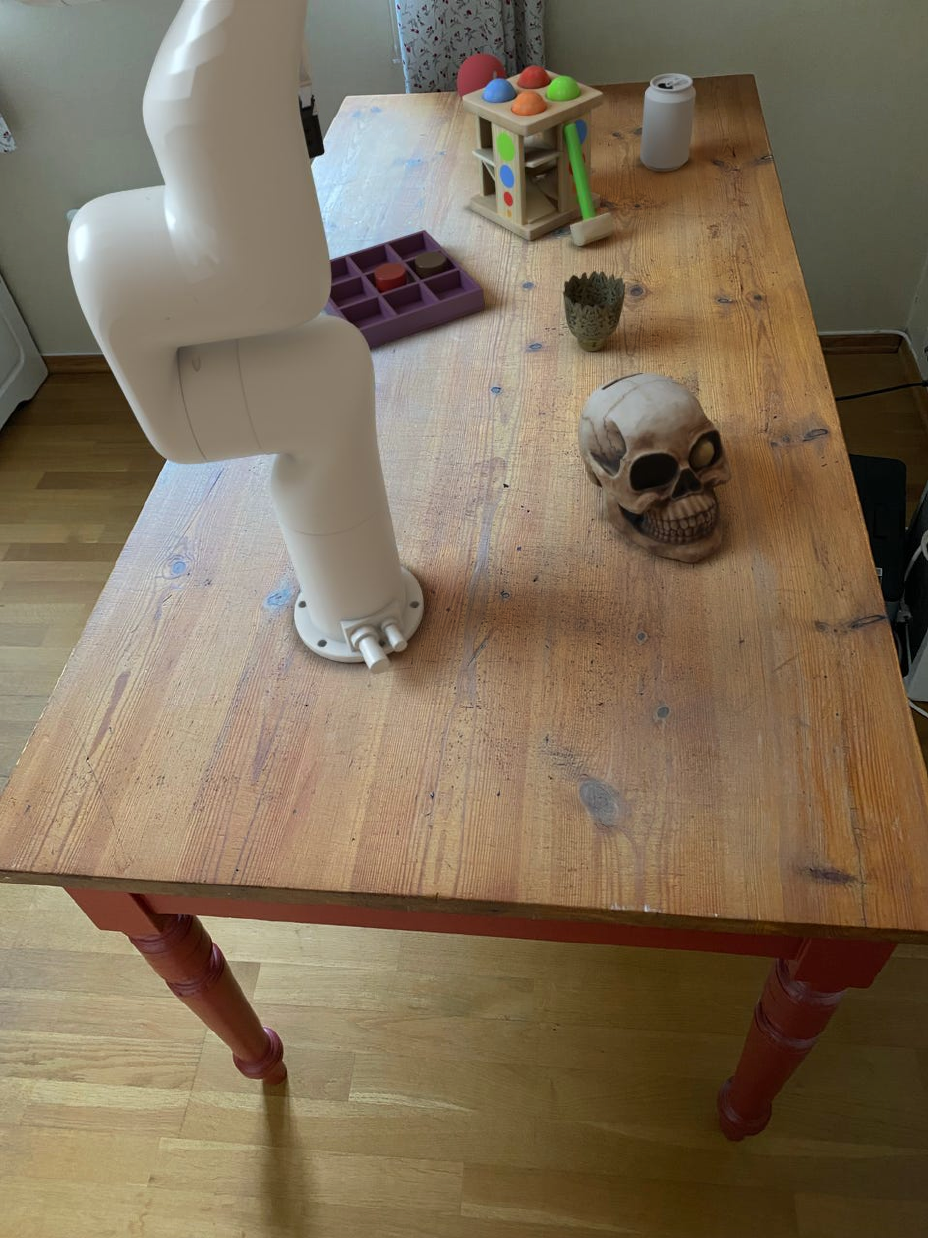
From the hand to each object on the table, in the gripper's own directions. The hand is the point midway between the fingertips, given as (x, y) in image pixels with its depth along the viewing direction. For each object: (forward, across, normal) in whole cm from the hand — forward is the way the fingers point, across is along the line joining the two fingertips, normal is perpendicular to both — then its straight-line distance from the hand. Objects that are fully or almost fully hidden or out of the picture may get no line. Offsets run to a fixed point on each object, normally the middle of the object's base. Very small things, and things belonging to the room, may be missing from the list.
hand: (294, 140), depth 95 cm
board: (+26, -8, +11) cm, 30 cm away
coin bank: (+26, +43, +19) cm, 54 cm away
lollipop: (+26, -39, +41) cm, 62 cm away
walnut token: (+26, -8, +17) cm, 32 cm away
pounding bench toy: (+26, -15, +40) cm, 50 cm away
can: (+26, -20, +63) cm, 71 cm away
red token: (+26, -8, +11) cm, 29 cm away
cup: (+26, +16, +28) cm, 42 cm away
